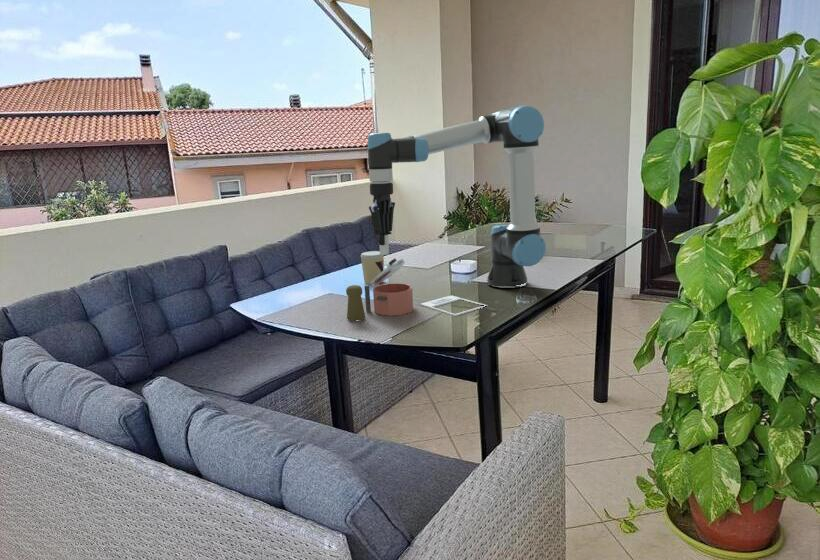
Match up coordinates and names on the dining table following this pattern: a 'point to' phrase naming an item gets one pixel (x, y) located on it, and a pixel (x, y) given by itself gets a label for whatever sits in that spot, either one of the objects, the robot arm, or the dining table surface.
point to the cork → (355, 303)
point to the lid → (388, 271)
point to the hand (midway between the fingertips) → (384, 254)
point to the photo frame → (448, 300)
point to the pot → (390, 298)
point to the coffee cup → (372, 265)
